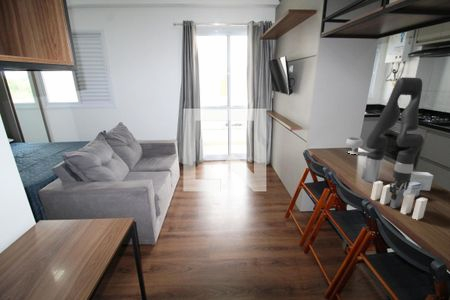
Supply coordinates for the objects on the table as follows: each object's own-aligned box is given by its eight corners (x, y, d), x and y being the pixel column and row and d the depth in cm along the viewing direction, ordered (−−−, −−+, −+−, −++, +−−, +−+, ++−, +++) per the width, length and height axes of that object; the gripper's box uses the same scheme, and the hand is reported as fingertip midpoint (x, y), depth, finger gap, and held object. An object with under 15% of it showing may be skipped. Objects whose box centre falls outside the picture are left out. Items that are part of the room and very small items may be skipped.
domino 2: (379, 202, 128) (383, 186, 125) (385, 200, 130) (388, 184, 127) (383, 204, 126) (387, 187, 123) (389, 202, 128) (393, 185, 125)
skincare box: (424, 186, 145) (428, 172, 142) (430, 190, 140) (434, 176, 136) (406, 185, 148) (409, 170, 145) (410, 189, 142) (414, 174, 139)
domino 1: (370, 198, 133) (373, 182, 130) (376, 196, 135) (379, 180, 131) (374, 200, 131) (377, 183, 128) (379, 198, 133) (383, 182, 130)
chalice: (364, 154, 210) (367, 139, 206) (352, 156, 207) (355, 141, 203) (352, 150, 223) (355, 136, 219) (341, 152, 220) (343, 137, 215)
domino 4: (400, 212, 118) (404, 194, 115) (406, 210, 120) (410, 192, 117) (404, 214, 116) (409, 196, 113) (410, 212, 118) (415, 194, 115)
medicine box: (409, 198, 132) (412, 185, 129) (401, 195, 136) (404, 182, 133) (418, 196, 134) (421, 183, 131) (410, 193, 138) (413, 180, 135)
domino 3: (389, 206, 123) (393, 189, 120) (395, 204, 125) (399, 187, 122) (394, 208, 121) (398, 191, 118) (399, 206, 123) (403, 189, 120)
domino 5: (411, 217, 113) (416, 199, 110) (417, 215, 115) (422, 197, 112) (416, 220, 111) (421, 201, 108) (422, 217, 113) (427, 199, 110)
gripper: (403, 165, 122) (397, 192, 127) (387, 170, 117) (381, 197, 122) (419, 170, 116) (412, 198, 121) (402, 175, 110) (395, 204, 115)
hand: (396, 198), depth 121 cm, fingers closed on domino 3, 5 cm apart
